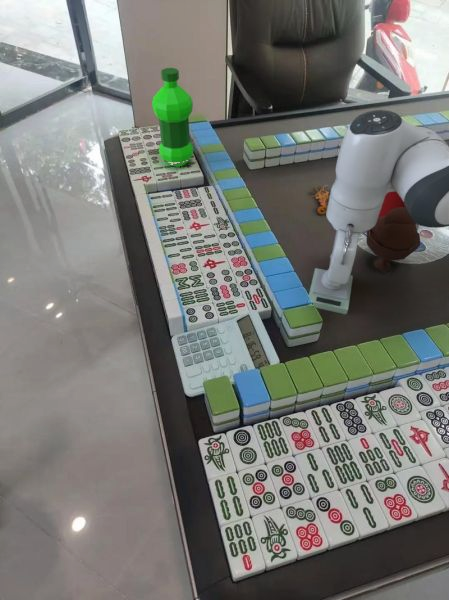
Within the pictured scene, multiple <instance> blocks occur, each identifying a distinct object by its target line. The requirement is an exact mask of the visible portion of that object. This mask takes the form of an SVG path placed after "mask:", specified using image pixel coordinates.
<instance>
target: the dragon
mask: <svg viewBox="0 0 449 600" xmlns="http://www.w3.org/2000/svg"><path fill="white" fill-rule="evenodd" d="M326 186H328V184H326V185H324V186H323V185H322V186H321V188H320V190H319V191H318V188H317V187H316V186H314V189H315V190H316V191H317V193H316V194H315V195H311V198H313V197H315V199H318V202H319V203H320V204H319V205H320V206H319V207H318V209H317V213H318V214H319V215H326V212H327V207H328V202H329V194H330V191H327V190H325V189H323V191H322V188H324V187H326Z"/></svg>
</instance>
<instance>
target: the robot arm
mask: <svg viewBox="0 0 449 600" xmlns="http://www.w3.org/2000/svg"><path fill="white" fill-rule="evenodd" d="M341 141H342V142H341V145H340V147H339V148H340V149H339V152H338V156H337V159H336V165H335V180H334V182H333V184H332V186H331V188H330V191H329V196H328V200H329V201H328V202H327V206H328V207H327V212H326V214H325V215H326V219H327V221H328V222H329V223H330V225H331V226H332V227H333V229H334V230H335V231H336V232H335V237H334V242H333V247H332V250H331V254H332V256H331V255H330V256H331V258H330V260H329V268H328V269H329V271H328V277H327V278H328V281H330V282H331V283H330V284H331V285H332V286H340V284H347V283H348V281H349V278H350V275H351V274H352V270H353V266H354V263H355V259H356V255H357V251H358V244H359V237H360V235H362V234H364V233H365V232H367V230H370V229H371V228H373V227H374V226H375V225H376V223H377V220H378V217H379V214H380V211H381V208H382V204H383V201H384V198H385V195H386V194H387V193H388V192H393V191H396V192H397V193H398V195H399V196H400V197H401V199H402V200H403V202H404V204H405V206H406V208H407V210H408V212H409V214H410V216H411V218H412V220H413V221H414V222H415V223H416V225H418V226H420V227H425V228H433V229H440V228H447V227H449V144H448V143H447V142H446V141H445V140H444V138H442V137H441V136H440V135H439V134H438V133H437V132H436V131H435V130H432V129H431V128H429V127H427V126H423V125H413V124H410V123H409V122H407V121H405V120H404V119H403V118H402V116H400V115H399V114H398V113H397V112H395V111H391V110H385V109H374V110H369V111H366V112H363V113H361V114H359V115H357V116H356V117H355V118H354V119H353V120H352V121H351V122H350V124H349V125H348V127H347V128H346V131H345V132H344V136H343V138H342V140H341Z"/></svg>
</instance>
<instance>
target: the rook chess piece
mask: <svg viewBox="0 0 449 600" xmlns="http://www.w3.org/2000/svg"><path fill="white" fill-rule="evenodd" d="M331 256H332V253H331V254H330V256H329V258H330V259H331ZM326 270H327V271H326V272H325V273H324V274H323V276H322V279H321V281H322V284H323V285H324V286H325V287H326V288H328V289H331V290H336V289H339V288H341V287H342V286H343V284H340V286H332V285H331V284H330V283H331V282H330V281H328V278H327V277H328V271H329V268H328V269H326Z"/></svg>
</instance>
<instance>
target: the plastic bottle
mask: <svg viewBox="0 0 449 600" xmlns="http://www.w3.org/2000/svg"><path fill="white" fill-rule="evenodd" d="M179 72H180V71H179V70H178V68H176V67H175V68H174V67H166V68H162V69H161V72H160V75H161V80H162V81H163V82H164V83H163V84H164V85H163V86H161V88H160V89H159V90H158V91H157V92H156V93H155V95H154V96H153V98H152V102H151V106H152V111H153V113H154V115H155V116H156V117H157V118H158V125H159V133H160V134H159V135H160V144H159V145H158V146H159V147H158V155H159V156H160V158H161V159H162V158H163V159H162V161H163V162H164V163H165V164H167V165H169V166H170V164H171V163H168V162H165V161H164V160H166V161H170V162H183V161H186V160H189V159H190V158H191V159H192V157H193V155H194V152H195V149H194V145H193V144H192V142H191V140H190V137H191V136H190V123H189V121H190V120H189V118H190V116H191V113H192V112H193V107H194V104H193V99H192V97H191V95H190V94H189V93H188V92H187V91H186V90H185V89H184V88H182V87H181V86H180V85H178V80H179V79H180V73H179ZM192 154H193V155H192ZM191 156H192V157H191ZM191 159H190V160H189V161H186V162H184V163H179V164H173V166H176V167H175V168H181V167H184V166H186V164H188V163H189V162H190V161H191ZM183 165H184V166H183ZM180 166H181V167H180Z"/></svg>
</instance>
